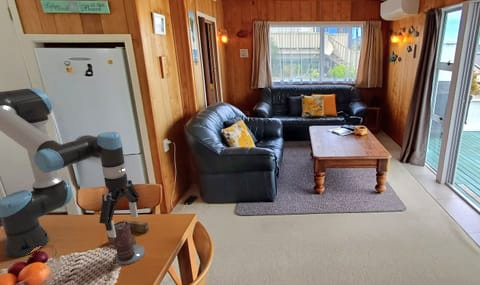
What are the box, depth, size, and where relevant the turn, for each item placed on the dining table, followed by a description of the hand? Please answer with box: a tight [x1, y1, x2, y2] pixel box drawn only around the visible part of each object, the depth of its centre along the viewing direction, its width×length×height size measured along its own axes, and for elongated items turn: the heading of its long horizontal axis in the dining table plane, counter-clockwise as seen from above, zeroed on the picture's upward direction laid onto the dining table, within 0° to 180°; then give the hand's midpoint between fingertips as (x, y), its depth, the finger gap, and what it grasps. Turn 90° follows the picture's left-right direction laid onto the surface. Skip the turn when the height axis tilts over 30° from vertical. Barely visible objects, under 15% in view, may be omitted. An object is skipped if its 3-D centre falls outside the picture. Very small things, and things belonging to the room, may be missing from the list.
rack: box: [107, 220, 150, 245], centre depth 126 cm, size 12×12×4 cm
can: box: [114, 220, 135, 261], centre depth 111 cm, size 6×6×14 cm
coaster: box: [114, 244, 146, 266], centre depth 115 cm, size 11×11×1 cm
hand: (124, 226), depth 111 cm, fingers open, 13 cm apart
